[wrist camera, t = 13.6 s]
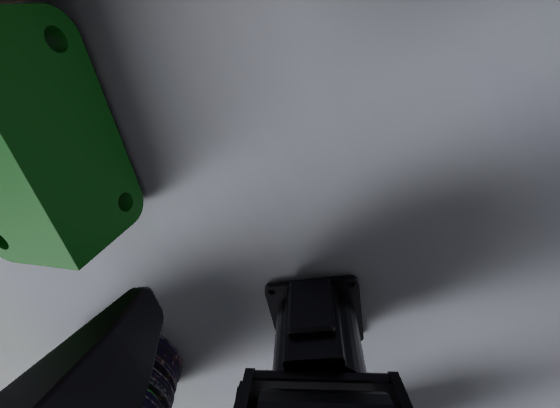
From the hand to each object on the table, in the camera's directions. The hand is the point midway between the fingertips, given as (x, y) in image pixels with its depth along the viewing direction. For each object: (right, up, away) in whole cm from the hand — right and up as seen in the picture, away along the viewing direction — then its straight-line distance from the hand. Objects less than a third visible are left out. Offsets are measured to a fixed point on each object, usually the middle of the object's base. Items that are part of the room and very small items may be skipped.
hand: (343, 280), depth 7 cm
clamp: (-14, +6, +12) cm, 19 cm away
